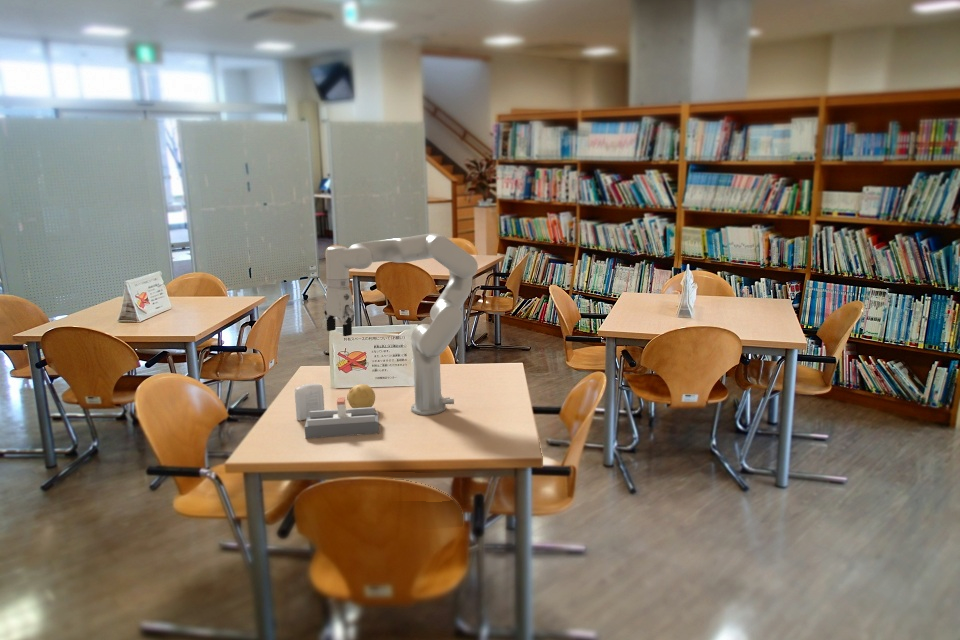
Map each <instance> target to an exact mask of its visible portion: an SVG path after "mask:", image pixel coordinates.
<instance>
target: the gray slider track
mask: <svg viewBox="0 0 960 640" xmlns="http://www.w3.org/2000/svg"><path fill="white" fill-rule="evenodd" d="M346 413H351V414H352V416H351V417H338V418H333V415H334V414H338V410H337V408H336V409H324V410H320V411H310V416H307V419H305V424H304V436H305V439H319V438H329V437H330V438H332V437H345V436H347V435H348V436H358V435H357V434H362V435H373V434H374V433H377V434H379V432H380V431H379V430H380V425H379V423H380V422H379V421H380V420H379V411H376V407H375V406H372V407H367V408H352V407H351V408H346ZM374 435H375V434H374Z"/></svg>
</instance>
